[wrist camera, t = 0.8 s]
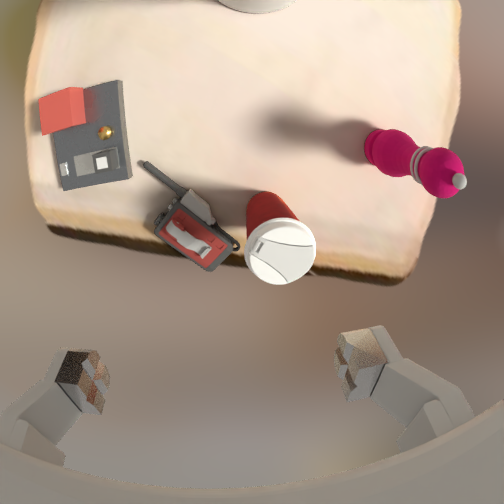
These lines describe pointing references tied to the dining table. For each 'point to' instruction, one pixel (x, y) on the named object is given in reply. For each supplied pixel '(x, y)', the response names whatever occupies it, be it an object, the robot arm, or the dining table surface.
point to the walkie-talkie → (192, 227)
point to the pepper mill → (416, 162)
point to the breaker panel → (95, 139)
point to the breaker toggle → (105, 161)
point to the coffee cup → (277, 240)
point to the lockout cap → (62, 110)
